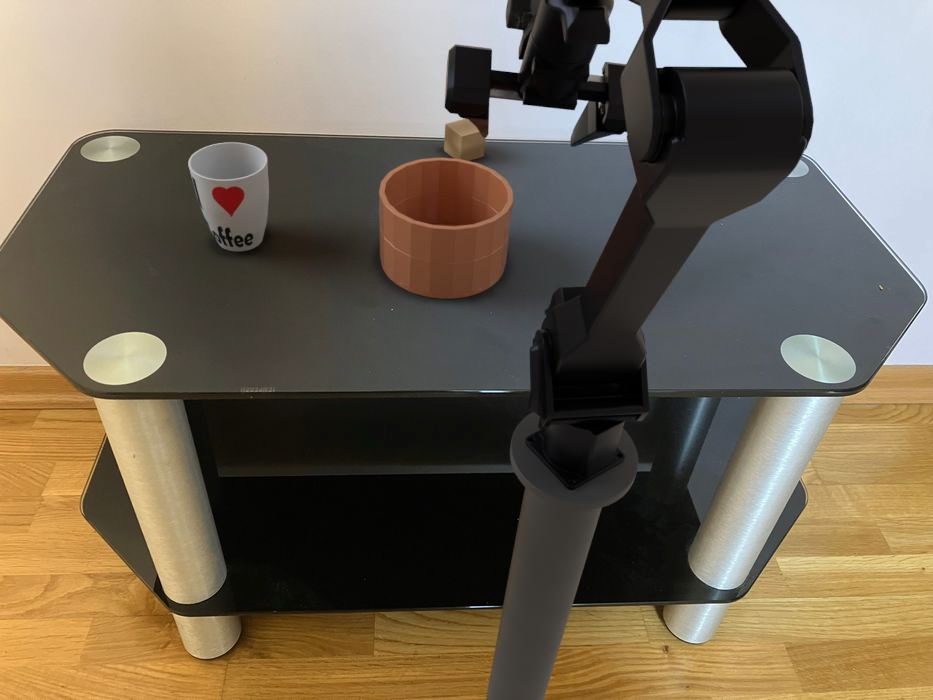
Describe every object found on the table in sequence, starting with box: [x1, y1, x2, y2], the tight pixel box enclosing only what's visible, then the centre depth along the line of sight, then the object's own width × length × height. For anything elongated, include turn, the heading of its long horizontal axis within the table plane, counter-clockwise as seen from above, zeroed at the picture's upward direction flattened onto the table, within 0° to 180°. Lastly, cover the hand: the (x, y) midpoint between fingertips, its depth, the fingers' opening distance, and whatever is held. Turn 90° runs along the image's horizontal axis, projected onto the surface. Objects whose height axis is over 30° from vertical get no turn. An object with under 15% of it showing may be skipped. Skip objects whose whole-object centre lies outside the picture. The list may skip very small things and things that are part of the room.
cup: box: [187, 141, 270, 252], centre depth 86 cm, size 8×8×10 cm
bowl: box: [378, 157, 514, 300], centre depth 86 cm, size 14×14×9 cm
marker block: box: [443, 118, 487, 162], centre depth 106 cm, size 4×4×4 cm
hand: (528, 137), depth 81 cm, fingers open, 9 cm apart
